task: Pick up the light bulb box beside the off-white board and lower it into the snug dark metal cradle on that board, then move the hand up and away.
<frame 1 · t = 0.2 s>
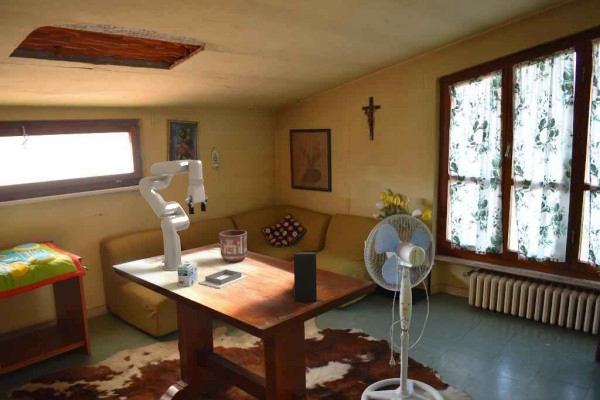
hand: (197, 212, 254), 36 cm above the table, tool pointing down, fingers open, 9 cm apart
bookend: (304, 293, 227), on the table
dock board: (223, 280, 249), on the table
pottery: (234, 260, 288), on the table
light bulb box: (188, 283, 245), on the table
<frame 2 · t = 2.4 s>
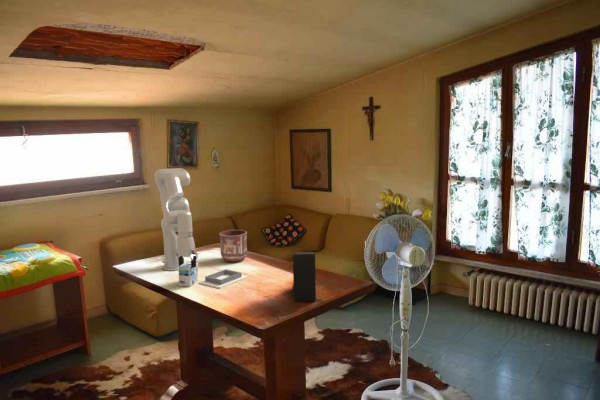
hand: (187, 266, 242), 10 cm above the table, tool pointing down, fingers open, 9 cm apart
nothing on the table moved.
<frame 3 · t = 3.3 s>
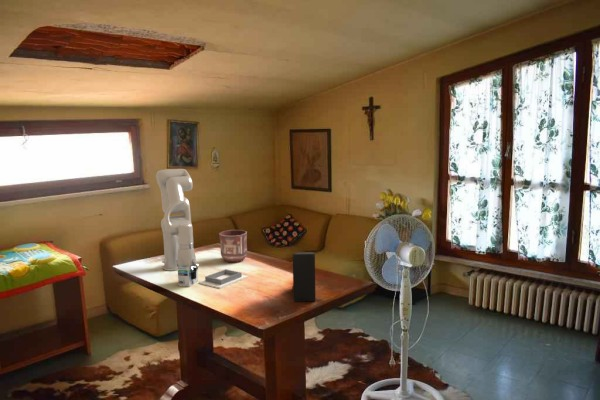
hand: (188, 277, 244), 3 cm above the table, tool pointing down, fingers closed on light bulb box, 8 cm apart
light bulb box: (188, 283, 244), on the table, touching gripper
everything else where it was.
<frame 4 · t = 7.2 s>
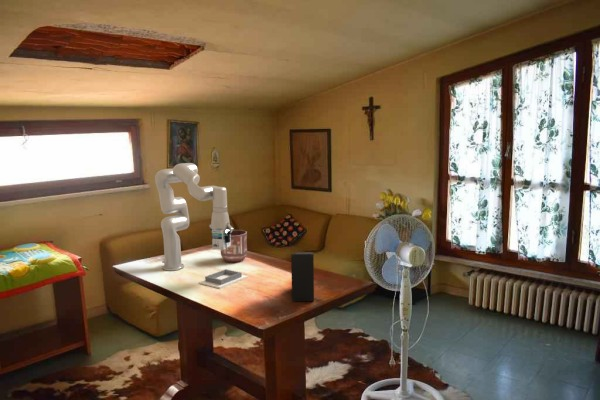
hand: (221, 241, 245), 22 cm above the table, tool pointing down, fingers closed on light bulb box, 8 cm apart
light bulb box: (221, 247, 246), point 18 cm above the table, touching gripper
everything else where it was.
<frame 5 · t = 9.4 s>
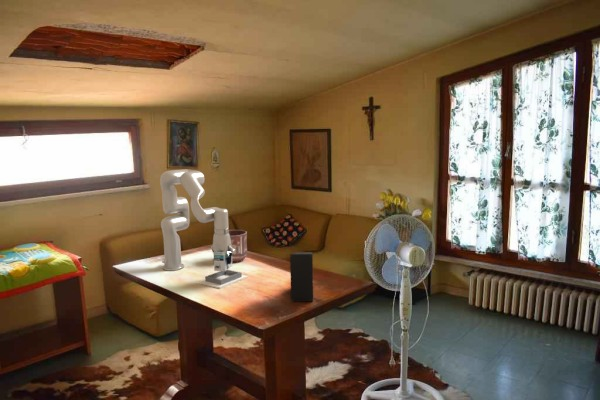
hand: (223, 262, 247), 10 cm above the table, tool pointing down, fingers closed on light bulb box, 8 cm apart
light bulb box: (223, 268, 248), point 7 cm above the table, touching gripper
everything else where it was.
when the fingers open (5 cm above the table, at t = 11.1 s): light bulb box drops 1 cm, resting on dock board.
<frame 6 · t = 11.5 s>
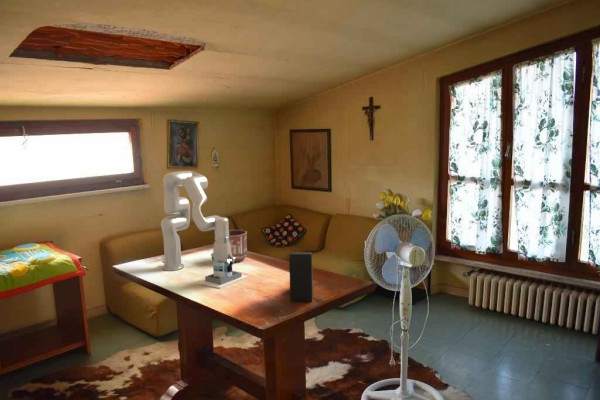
hand: (223, 270, 248), 6 cm above the table, tool pointing down, fingers open, 9 cm apart
light bulb box: (223, 279, 249), point 1 cm above the table, touching dock board
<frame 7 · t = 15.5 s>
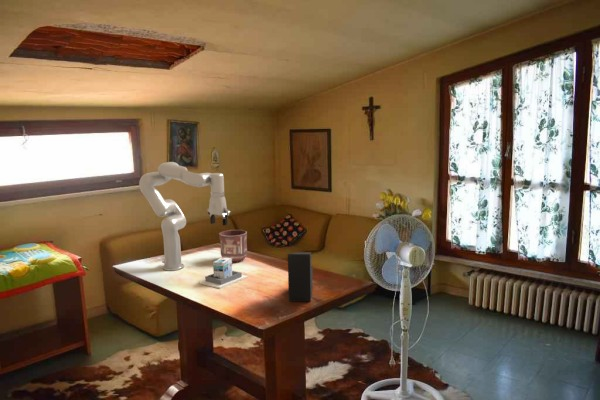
hand: (218, 224, 261), 28 cm above the table, tool pointing down, fingers open, 9 cm apart
at the end: light bulb box 0.4 cm off-centre on the dock board, point 0.6 cm above the dock board's base; light bulb box tilted 0°; the gripper is holding nothing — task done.
